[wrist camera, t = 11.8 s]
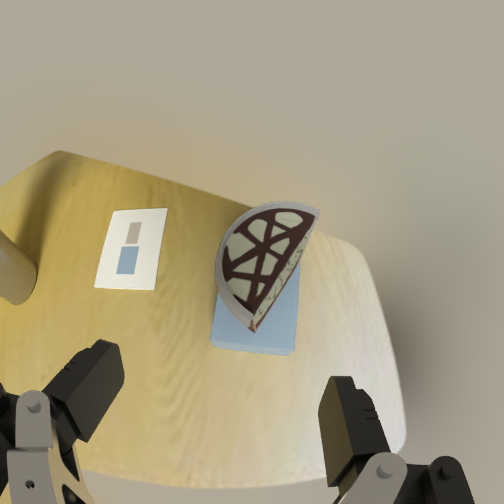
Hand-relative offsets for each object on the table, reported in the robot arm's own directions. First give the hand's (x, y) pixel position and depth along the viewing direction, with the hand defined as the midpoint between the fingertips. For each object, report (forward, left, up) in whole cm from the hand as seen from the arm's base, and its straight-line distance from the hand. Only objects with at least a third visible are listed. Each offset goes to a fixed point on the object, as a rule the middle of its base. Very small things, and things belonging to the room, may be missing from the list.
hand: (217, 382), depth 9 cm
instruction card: (-19, +17, -23) cm, 35 cm away
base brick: (+1, +12, -23) cm, 26 cm away
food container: (+1, +12, -19) cm, 22 cm away
